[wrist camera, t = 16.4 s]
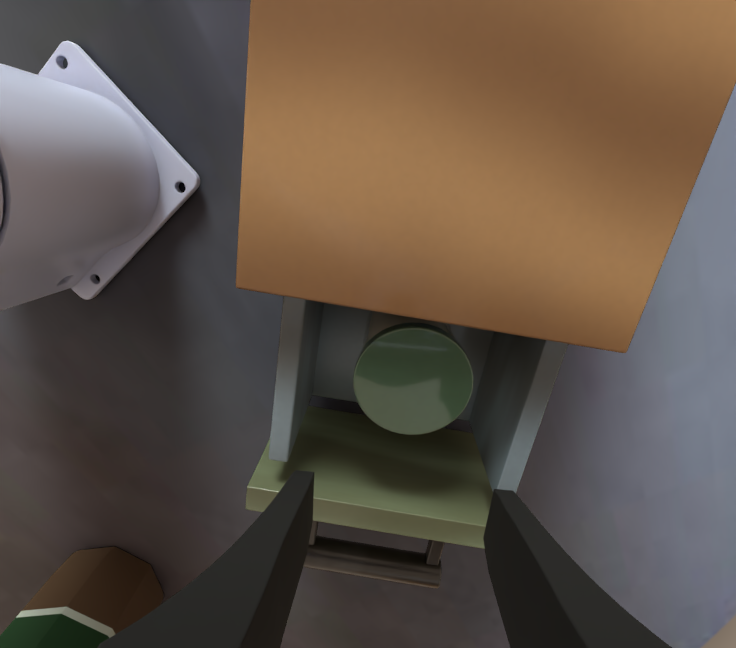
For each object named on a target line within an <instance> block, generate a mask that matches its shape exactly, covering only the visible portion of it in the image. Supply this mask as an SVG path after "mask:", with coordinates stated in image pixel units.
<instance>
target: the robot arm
mask: <svg viewBox="0 0 736 648" xmlns="http://www.w3.org/2000/svg"><path fill="white" fill-rule="evenodd" d="M64 59H67V61H68V66H67V68H66V69H65V68H64V66H63V61H64ZM181 182H182V183H184V185H185V188H186V190H185V192H181V191H180V189H179V184H180V183H181ZM199 186H200V178H199V176H198V174H197V173H196V172H195V171H194V169H193V168H192V167H191V166H190V165H189V164H188V163H187V162H186V161H185V160H184V159H183V158H182V156H181V155H180V154H179V153H178V152H177V151H176V150H175V149H174V148H173V147H172V146H171V145H170V143H169V142H168V141H167V140H166V139H165V138H164V137H163V136H162V135H161V134H160V133H159V132H158V131H157V129H156V128H155V127H154V126H153V125H152V124H151V123H150V122H149V121H148V120H147V119H146V118H145V116H144V115H143V114H142V113H141V112H140V111H139V110H138V109H137V108H136V107H135V106H134V105H133V103H132V102H131V101H130V100H129V99H128V98H127V97H126V96H125V95H124V94H123V93H122V92H121V90H120V89H119V88H118V87H117V86H116V85H115V84H114V83H113V82H112V81H111V80H110V79H109V78H108V76H107V75H106V74H105V73H104V72H103V71H102V70H101V69H100V68H99V67H98V66H97V65H96V63H95V62H94V61H93V60H92V59H91V58H90V57H89V56H88V55H87V54H86V53H85V52H84V50H83V49H82V48H81V47H79V46H78V45H77V44H75V43H73V42H70V41H64V42H62V43H61V44H60V45H59V46H58V48H57V49H56V51H55V52H54V53H53V55H52V56H51V57H50V59H49V60H48V62H47V63H46V64H45V66H44V67H43V68H42V70H41V71H40V73H39V74H38V75H36V74H33V73H30V72H26V71H23V70H20V69H17V68H14V67H10V66H7V65H4V64H1V63H0V311H2V310H5V309H8V308H11V307H14V306H17V305H20V304H23V303H26V302H29V301H33V300H36V299H39V298H42V297H45V296H48V295H51V294H54V293H57V292H60V291H63V290H66V289H69V288H71V289H72V290H73V291H74V292H75V293H76V294H77V295H78V296H79V297H81V298H82V299H86V300H88V299H92V298H94V297H96V296H97V295H98V294H99V293H100V292H101V291H102V289H103V288H104V287H105V286H106V285H107V284H108V283H109V282H110V281H111V280H112V279H113V278H114V277H115V276H116V275H117V274H118V273H119V271H120V270H121V269H122V268H123V267H124V266H125V265H126V264H127V263H128V262H129V261H130V260H131V259H132V258H133V257H134V256H135V254H136V253H137V252H138V251H139V250H140V249H141V248H142V247H143V246H144V245H145V244H146V243H147V242H148V241H149V240H150V239H151V238H152V236H153V235H154V234H155V233H156V232H157V231H158V230H159V229H160V228H161V227H162V226H163V225H164V224H165V223H166V222H167V221H168V219H169V218H170V217H171V216H172V215H173V214H174V213H175V212H176V211H177V210H178V209H179V208H180V207H181V206H182V205H183V204H184V203H185V201H186V200H187V199H188V198H189V197H190V196H191V195H192V194H193V193H194V192H195V191H196V190H197V189H198V187H199ZM96 275H98V276H99V278H100V282H99V281H97V279H96ZM313 500H314V472H310V471H300V470H295V471H294V472H293V473H292V474H291V476H290V477H289V479H288V480H287V482H286V483H285V484H284V486H283V487H282V489H281V490H280V491H279V493H278V494H277V495H276V497H275V498H274V499H273V500H272V502H271V503H270V504H269V505H268V507H267V508H266V509H265V510H264V511H263V513H262V514H261V515H260V516H259V517H258V519H257V520H256V521H255V522H254V523H253V524H252V525H251V526H250V527H249V528H248V530H247V531H246V532H245V533H244V534H243V535H242V536H241V537H240V538H239V539H238V540H237V541H236V542H235V543H234V544H233V545H232V546H231V547H230V548H229V549H228V550H227V551H226V552H225V553H224V554H223V555H222V556H221V557H220V558H219V559H218V560H216V561H215V562H214V563H213V564H212V565H211V566H210V567H209V568H207V569H206V570H205V571H204V572H203V573H201V574H200V575H199V576H198V577H197V578H196V579H194V580H193V581H192V582H191V583H189V584H188V585H187V586H186V587H184V588H183V589H182V590H180V591H179V592H178V593H176V594H175V595H174V596H172V597H171V598H169V599H168V600H167V601H165V602H164V603H162V604H161V605H160V606H158V607H157V608H156V609H154V610H153V611H151V612H150V613H148V614H147V615H145V616H144V617H143V618H141V619H139V620H138V621H136V622H135V623H133V624H131V625H130V626H128V627H126V628H125V629H123V630H122V631H120V632H118V633H117V634H115V635H114V636H112V637H110V638H109V639H107V640H105V641H103V642H102V643H100V645H99V646H98V647H97V648H280V645H281V642H282V638H283V634H284V630H285V626H286V623H287V620H288V616H289V613H290V609H291V606H292V603H293V599H294V596H295V593H296V589H297V586H298V582H299V579H300V576H301V572H302V569H303V565H304V562H305V558H306V555H307V550H308V545H309V540H310V534H311V529H312V523H313ZM483 540H484V547H485V553H486V559H487V564H488V570H489V574H490V578H491V582H492V585H493V589H494V592H495V596H496V599H497V603H498V606H499V610H500V613H501V617H502V620H503V623H504V627H505V630H506V634H507V637H508V641H509V644H510V648H672V647H670V646H669V645H668V644H666V643H665V642H664V641H662V640H661V639H660V638H659V637H657V636H656V635H655V634H654V633H652V632H651V631H650V630H649V629H647V628H646V627H645V626H644V625H643V624H641V623H640V622H639V621H638V620H636V619H635V618H634V617H633V616H632V615H630V614H629V613H628V612H627V611H626V610H625V609H623V608H622V607H621V606H620V605H619V604H618V603H617V602H616V601H615V600H613V599H612V598H611V597H610V596H609V595H608V594H607V593H606V592H605V591H604V590H603V589H601V588H600V587H599V586H598V585H597V584H596V583H595V582H594V581H593V580H592V579H591V578H590V577H589V576H588V575H587V574H586V573H585V572H584V571H583V570H582V569H581V568H580V567H579V566H578V565H577V564H576V563H575V562H574V561H573V560H572V558H571V557H570V556H569V555H568V554H567V553H566V552H565V551H564V550H563V549H562V548H561V547H560V545H559V544H558V543H557V542H556V541H555V540H554V539H553V538H552V536H551V535H550V534H549V533H548V532H547V531H546V529H545V528H544V527H543V526H542V525H541V524H540V522H539V521H538V520H537V519H536V518H535V516H534V515H533V514H532V513H531V512H530V510H529V509H528V508H527V507H526V505H525V504H524V503H523V502H522V501H521V499H520V498H519V497H518V496H517V495H516V493H515V492H514V491H512V490H502V489H494V490H493V495H492V500H491V504H490V509H489V514H488V518H487V523H486V528H485V532H484V537H483Z"/></svg>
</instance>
